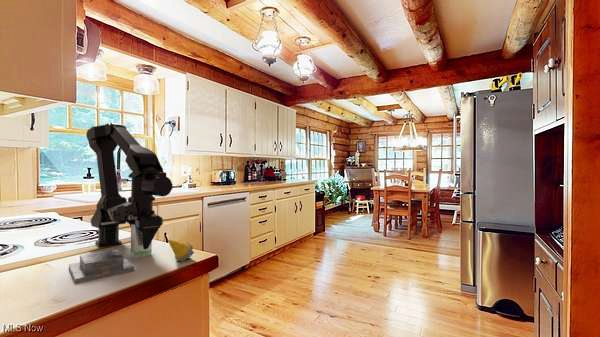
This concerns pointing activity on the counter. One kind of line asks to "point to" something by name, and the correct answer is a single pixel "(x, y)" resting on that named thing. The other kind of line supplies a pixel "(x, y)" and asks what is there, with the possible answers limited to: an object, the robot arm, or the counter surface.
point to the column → (138, 244)
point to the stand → (99, 266)
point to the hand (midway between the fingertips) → (140, 245)
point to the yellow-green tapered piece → (181, 250)
